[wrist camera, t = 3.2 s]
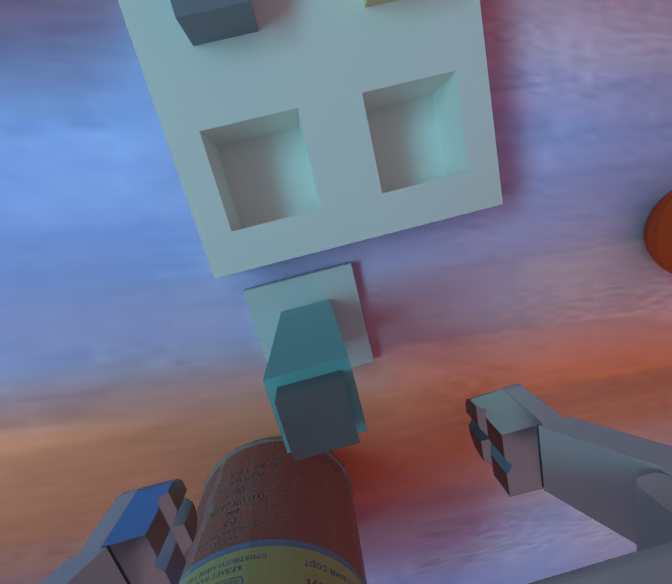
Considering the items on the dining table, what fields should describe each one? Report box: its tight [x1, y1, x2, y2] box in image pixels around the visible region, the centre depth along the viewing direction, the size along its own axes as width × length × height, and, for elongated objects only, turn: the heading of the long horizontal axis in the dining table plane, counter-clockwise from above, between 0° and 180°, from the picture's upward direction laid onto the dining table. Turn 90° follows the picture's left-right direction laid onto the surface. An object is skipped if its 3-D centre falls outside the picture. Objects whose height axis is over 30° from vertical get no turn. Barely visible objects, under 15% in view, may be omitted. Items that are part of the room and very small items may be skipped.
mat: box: [243, 262, 374, 368], centre depth 21 cm, size 7×7×1 cm
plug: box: [263, 299, 367, 461], centre depth 16 cm, size 3×3×10 cm
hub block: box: [118, 0, 503, 279], centre depth 16 cm, size 14×16×6 cm
